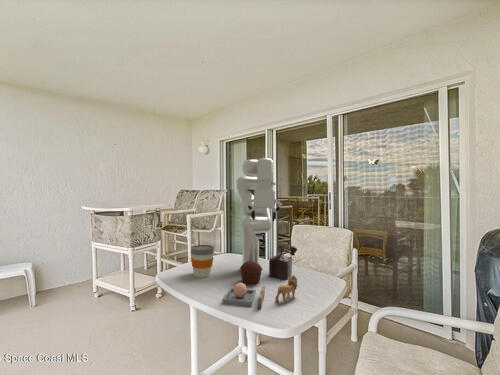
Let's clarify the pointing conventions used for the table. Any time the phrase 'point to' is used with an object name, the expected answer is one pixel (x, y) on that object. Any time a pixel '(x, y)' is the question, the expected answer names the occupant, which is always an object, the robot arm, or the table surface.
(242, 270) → the muffin
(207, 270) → the reusable coffee cup
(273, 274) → the manual coffee grinder
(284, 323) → the table surface
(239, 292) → the ball
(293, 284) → the lion figurine
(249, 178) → the robot arm
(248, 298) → the slate dish
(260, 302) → the walnut wall
